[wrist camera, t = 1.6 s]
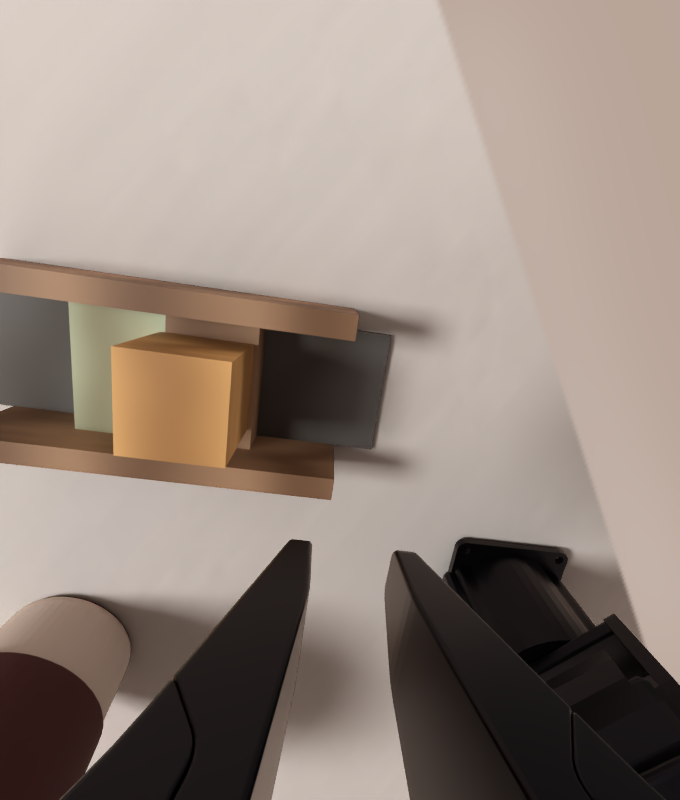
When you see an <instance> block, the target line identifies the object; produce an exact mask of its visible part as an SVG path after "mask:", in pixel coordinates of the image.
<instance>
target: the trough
mask: <svg viewBox="0 0 680 800" xmlns="http://www.w3.org/2000/svg"><path fill="white" fill-rule="evenodd" d="M358 319H359V315H358V313H357V312H356V311H355V310H354V309H353V308H346V307H339V306H332V305H325V304H318V303H311V302H304V301H297V300H290V299H283V298H277V297H270V296H263V295H256V294H249V293H242V292H235V291H228V290H221V289H214V288H207V287H200V286H193V285H186V284H179V283H172V282H165V281H158V280H151V279H144V278H138V277H131V276H124V275H117V274H110V273H103V272H96V271H89V270H82V269H75V268H68V267H61V266H54V265H47V264H40V263H33V262H26V261H19V260H12V259H6V258H0V404H2V405H11V406H13V407H10V408H8V409H5V410H3V411H0V463H6V464H15V465H24V466H32V467H41V468H50V469H59V470H68V471H77V472H86V473H95V474H104V475H113V476H121V477H130V478H139V479H148V480H157V481H166V482H175V483H184V484H193V485H202V486H210V487H219V488H228V489H237V490H246V491H255V492H264V493H273V494H282V495H291V496H299V497H308V498H317V499H326V500H331V497H332V490H333V484H334V450H333V445H340V446H348V447H357V448H365V449H371V447H372V441H373V436H374V430H375V424H376V419H377V413H378V407H379V402H380V396H381V391H382V385H383V379H384V374H385V368H386V362H387V357H388V351H389V345H390V340H391V335H386V334H379V333H372V332H365V331H357V326H358ZM158 332H167V333H174V334H182V335H189V336H196V337H204V338H211V339H218V340H226V341H233V342H240V343H248V344H254V349H253V362H252V374H251V387H250V399H249V412H248V425H247V430H246V432H245V434H244V436H243V438H242V439H241V441H240V443H239V445H238V446H237V448H236V450H235V452H234V454H233V455H232V457H231V459H230V461H229V462H228V464H227V466H226V468H217V467H208V466H200V465H191V464H183V463H174V462H165V461H157V460H148V459H139V458H131V457H122V456H114V455H113V413H112V370H111V346H113V345H117V344H120V343H123V342H127V341H130V340H134V339H137V338H140V337H144V336H147V335H151V334H154V333H158Z"/></svg>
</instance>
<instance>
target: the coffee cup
mask: <svg viewBox="0 0 680 800" xmlns="http://www.w3.org/2000/svg"><path fill="white" fill-rule="evenodd" d="M130 654H131V651H130V641H129V638H128V635H127V633H126V631H125V629H124V628H123V626H122V624H121V623H120V622H119V621H118V620H117V619H116V618H115V617H114V616H113V615H112V614H111V613H110V612H108V611H107V610H105V609H104V608H102V607H100V606H98V605H96V604H94V603H92V602H89V601H86V600H82V599H78V598H71V597H51V598H45V599H41V600H38V601H35V602H33V603H31V604H29V605H27V606H25V607H24V608H22V609H21V610H19V611H18V612H17V613H16V614H15V615H14V616H12V617H11V618H10V619H9V620H8V621H7V622H6V623H5V624H4V625H3V626H2V627H1V628H0V800H59V799H60V798H61V797H62V796H63V795H64V794H65V793H66V792H67V791H68V790H69V789H70V788H71V787H72V786H73V785H74V784H75V783H76V782H77V781H78V780H79V779H80V778H81V777H82V776H83V775H84V774H85V772H86V770H87V768H88V765H89V763H90V761H91V758H92V756H93V754H94V751H95V749H96V747H97V745H98V742H99V739H100V737H101V734H102V729H103V721H104V718H105V716H106V714H107V712H108V709H109V707H110V705H111V703H112V700H113V698H114V696H115V694H116V692H117V689H118V687H119V685H120V683H121V680H122V678H123V676H124V674H125V671H126V669H127V667H128V664H129V660H130Z"/></svg>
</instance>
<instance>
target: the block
mask: <svg viewBox="0 0 680 800" xmlns="http://www.w3.org/2000/svg"><path fill="white" fill-rule="evenodd" d="M253 349H254V344H248V343H240V342H233V341H226V340H218V339H211V338H204V337H196V336H189V335H182V334H174V333H167V332H158V333H154V334H151V335H147V336H144V337H140V338H137V339H134V340H130V341H127V342H123V343H120V344H117V345H113V346H111V370H112V413H113V455H114V456H122V457H131V458H139V459H148V460H157V461H165V462H174V463H183V464H191V465H200V466H208V467H217V468H226V466H227V464H228V462H229V461H230V459H231V457H232V455H233V454H234V452H235V450H236V448H237V446H238V445H239V443H240V441H241V439H242V438H243V436H244V434H245V432H246V430H247V425H248V412H249V399H250V387H251V374H252V362H253Z"/></svg>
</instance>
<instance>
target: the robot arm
mask: <svg viewBox="0 0 680 800" xmlns="http://www.w3.org/2000/svg"><path fill="white" fill-rule="evenodd" d="M464 547H467V548H466V549H465V550H462V548H464ZM311 555H312V544H311V542H310V541H303V540H294V539H292V540H290V541H289V542H288V543H287V544H286V545H285V546H284V547H283V548H282V550H281V551H280V552H279V553H278V554H277V555H276V557H275V558H274V559H273V560H272V561H271V563H270V564H269V565H268V566H267V567H266V568H265V570H264V571H263V572H262V573H261V574H260V575H259V577H258V578H257V579H256V580H255V581H254V583H253V584H252V585H251V586H250V587H249V588H248V590H247V591H246V592H245V593H244V594H243V595H242V597H241V598H240V599H239V600H238V601H237V602H236V604H235V605H234V606H233V607H232V608H231V610H230V611H229V612H228V613H227V614H226V615H225V617H224V618H223V619H222V620H221V621H220V622H219V624H218V625H217V626H216V627H215V628H214V630H213V631H212V632H211V633H210V634H209V635H208V637H207V638H206V639H205V640H204V641H203V642H202V644H201V645H200V646H199V647H198V648H197V649H196V651H195V652H194V653H193V654H192V655H191V657H190V658H189V659H188V660H187V661H186V662H185V664H184V665H183V666H182V667H181V668H180V669H179V671H178V672H177V673H176V674H175V675H174V678H173V680H170V681H169V682H168V683H167V684H166V685H165V687H164V688H163V689H162V690H161V691H160V693H159V694H158V695H157V696H156V697H155V698H154V700H153V701H152V702H151V703H150V704H149V706H148V707H147V708H146V709H145V710H144V711H143V712H142V713H141V714H140V716H139V717H138V718H137V719H136V720H135V721H134V722H133V723H132V724H131V726H130V727H129V728H128V729H127V730H126V731H125V732H124V733H123V735H122V736H121V737H120V738H119V739H118V740H117V741H116V742H115V743H114V745H113V746H112V747H111V748H110V749H109V750H108V751H107V752H106V753H105V754H104V755H103V756H102V757H101V758H100V759H99V760H98V761H97V762H96V763H95V764H94V765H93V766H92V767H91V768H90V769H89V770H88V771H87V772H86V773H85V774H84V775H83V776H82V777H81V778H80V779H79V780H78V781H77V782H76V783H75V784H74V785H73V786H72V787H71V788H70V789H69V790H68V791H67V792H66V793H65V794H64V795H63V796H62V797H61V798H60V799H59V800H271V799H272V794H273V789H274V784H275V780H276V775H277V770H278V765H279V760H280V756H281V751H282V746H283V741H284V737H285V732H286V727H287V722H288V718H289V713H290V708H291V703H292V699H293V694H294V688H295V683H296V677H297V671H298V664H299V657H300V650H301V644H302V637H303V630H304V623H305V616H306V609H307V603H308V596H309V589H310V578H311ZM557 557H559V558H557ZM556 558H557V559H556ZM567 560H568V558H567V556H566V554H565V553H564V552H563V551H562V550H561V549H557V548H548V547H539V546H530V545H520V544H511V543H502V542H493V541H483V540H474V539H460V540H458V541H457V542H456V544H455V547H454V551H453V555H452V559H451V562H450V566H449V570H448V572H446V573H445V574H444V576H443V580H442V579H441V578H440V577H439V576H438V575H437V574H436V573H435V572H434V571H433V570H432V569H431V568H430V567H429V566H428V565H427V564H426V563H425V562H424V561H423V560H422V559H421V558H420V557H419V556H418V555H417V554H416V553H414V552H408V551H398V550H397V551H395V552H393V554H392V557H391V561H390V566H389V571H388V576H387V580H386V585H385V612H386V627H387V642H388V657H389V671H390V683H391V690H392V697H393V704H394V710H395V715H396V721H397V727H398V733H399V739H400V744H401V750H402V756H403V762H404V768H405V773H406V779H407V785H408V791H409V797H410V800H680V685H679V684H678V683H677V682H676V681H675V680H674V679H673V677H672V676H671V675H670V674H669V673H668V672H667V671H666V670H665V669H664V668H663V666H662V665H661V664H660V663H659V662H658V661H657V660H656V659H655V658H654V657H653V656H652V654H651V653H650V652H649V651H648V650H647V649H646V648H645V647H644V646H643V645H642V644H641V642H640V641H639V640H638V639H637V638H636V637H635V636H634V635H633V634H632V633H631V632H630V630H629V629H628V628H627V627H626V626H625V625H624V624H623V623H622V622H621V621H620V620H619V618H618V617H617V616H616V615H615V614H612V615H610V616H609V617H607V618H605V619H603V620H604V622H603V623H601V624H600V625H598V626H595V625H594V624H593V623H592V621H591V620H590V619H589V617H588V616H587V615H586V613H585V612H584V611H583V610H582V608H581V607H580V606H579V604H578V603H577V602H576V600H575V599H574V598H573V597H572V595H571V594H570V593H569V591H568V590H567V589H566V587H565V586H564V585H563V584H562V582H561V581H560V580H561V577H562V575H563V572H564V569H565V566H566V564H567Z"/></svg>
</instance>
